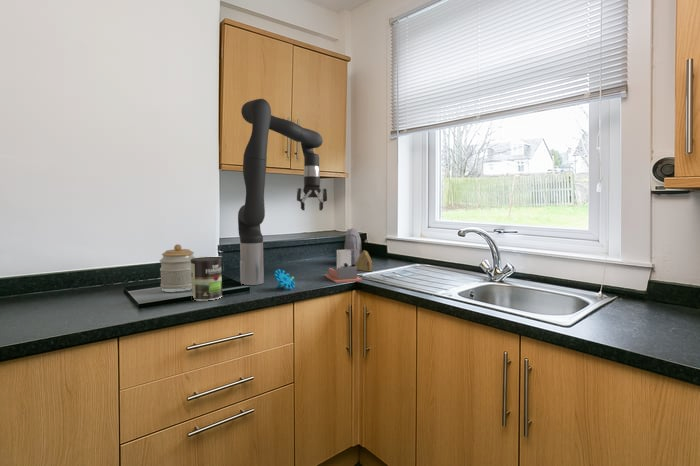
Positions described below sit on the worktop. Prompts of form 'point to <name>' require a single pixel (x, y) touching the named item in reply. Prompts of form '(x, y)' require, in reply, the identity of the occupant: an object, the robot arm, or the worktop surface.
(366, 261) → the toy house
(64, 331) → the worktop surface
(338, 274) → the coupler cradle
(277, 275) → the gear
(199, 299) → the coffee can
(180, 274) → the jar
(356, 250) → the small grey backpack
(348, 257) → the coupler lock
